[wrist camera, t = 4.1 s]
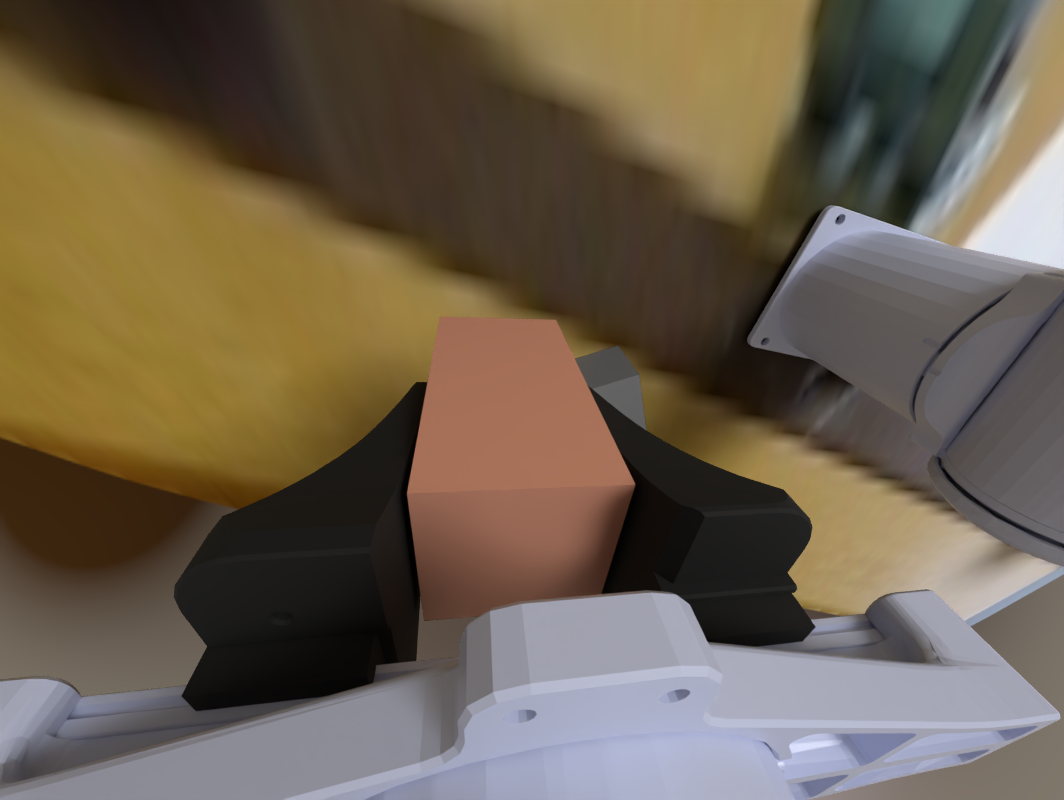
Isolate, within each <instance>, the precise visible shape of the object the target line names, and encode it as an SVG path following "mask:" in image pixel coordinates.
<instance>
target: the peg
mask: <svg viewBox="0 0 1064 800" xmlns="http://www.w3.org/2000/svg"><path fill="white" fill-rule="evenodd" d="M634 488H635V483H634V481H633V478H632V476H631V474H630V472H629V470H628V468H627V466H626V464H625V462H624V460H623V458H622V456H621V454H620V452H619V450H618V447H617V445H616V443H615V441H614V439H613V437H612V435H611V433H610V431H609V429H608V427H607V425H606V423H605V421H604V419H603V416H602V414H601V412H600V410H599V408H598V406H597V404H596V402H595V400H594V398H593V396H592V394H591V392H590V390H589V388H588V385H587V383H586V381H585V379H584V377H583V375H582V373H581V371H580V369H579V367H578V365H577V363H576V361H575V359H574V357H573V354H572V352H571V350H570V348H569V346H568V344H567V342H566V340H565V338H564V336H563V334H562V332H561V330H560V328H559V326H558V323H557V321H556V320H539V319H504V318H469V317H440V318H439V324H438V329H437V334H436V340H435V345H434V351H433V356H432V361H431V367H430V372H429V378H428V383H427V388H426V394H425V399H424V405H423V410H422V415H421V421H420V426H419V431H418V437H417V442H416V448H415V453H414V458H413V464H412V469H411V475H410V480H409V485H408V491H407V497H408V505H409V512H410V520H411V527H412V535H413V542H414V550H415V557H416V565H417V572H418V580H419V587H420V594H421V602H422V609H423V617H424V621H430V620H441V619H453V618H464V617H476V616H480V615H482V614H483V613H485V612H487V611H488V610H490V609H491V608H494V607H498V606H502V605H506V604H511V603H515V602H519V601H529V600H541V599H552V598H564V597H575V596H587V595H599V594H601V593H602V590H603V587H604V584H605V580H606V577H607V574H608V571H609V568H610V564H611V561H612V558H613V555H614V552H615V548H616V545H617V542H618V539H619V536H620V532H621V529H622V526H623V523H624V520H625V516H626V513H627V510H628V507H629V504H630V500H631V497H632V494H633V491H634Z"/></svg>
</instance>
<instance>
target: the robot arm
mask: <svg viewBox="0 0 1064 800" xmlns="http://www.w3.org/2000/svg"><path fill="white" fill-rule="evenodd" d="M838 216H839V219H838V221H837V222H835V221H836V218H837V217H838ZM764 338H765V340H764V341H763V342H761V341H762V340H763V339H764ZM747 342H748V344H749V345H751V346H753V347H756V348H761V349H765V350H770V351H775V352H779V353H784V354H789V355H793V356H798V357H803V358H807V359H812V360H814V361H815V362H817V363H819V364H820V365H822V366H824V367H825V368H827V369H828V370H830V371H832V372H833V373H835V374H836V375H838V376H840V377H841V378H843V379H844V380H846V381H848V382H849V383H851V384H852V385H854V386H856V387H857V388H859V389H860V390H862V391H864V392H865V393H867V394H868V395H870V396H872V397H873V398H875V399H876V400H878V401H880V402H881V403H883V404H884V405H886V406H888V407H889V408H891V409H892V410H894V411H896V412H897V413H899V414H900V415H902V416H904V417H905V418H907V419H908V420H910V421H912V422H913V423H915V424H916V426H915V429H914V431H913V433H912V435H911V436H910V439H911V440H912V441H914V442H915V443H917V444H918V445H920V446H921V447H923V448H924V449H926V450H927V451H929V452H930V453H932V454H933V455H932V457H931V458H930V460H929V462H928V467H927V471H928V474H929V477H930V479H931V481H932V482H933V484H934V485H935V487H936V488H937V490H938V491H939V492H940V493H941V494H942V495H943V496H944V498H945V499H946V500H947V501H948V502H949V504H950V505H951V506H952V507H953V508H954V509H956V510H957V511H958V512H959V513H960V514H961V515H963V516H964V517H965V518H966V519H968V520H969V521H970V522H972V523H973V524H975V525H976V526H977V527H979V528H980V529H982V530H984V531H985V532H987V533H988V534H990V535H992V536H994V537H995V538H997V539H999V540H1001V541H1003V542H1004V543H1006V544H1008V545H1010V546H1012V547H1014V548H1017V549H1019V550H1021V551H1023V552H1025V553H1028V554H1030V555H1032V556H1035V557H1037V558H1040V559H1043V560H1045V561H1048V562H1051V563H1054V564H1057V565H1061V566H1064V269H1061V268H1056V267H1051V266H1046V265H1042V264H1037V263H1032V262H1027V261H1022V260H1018V259H1013V258H1008V257H1003V256H998V255H994V254H989V253H984V252H979V251H974V250H970V249H965V248H960V247H955V246H951V245H948V244H945V243H942V242H939V241H937V240H934V239H931V238H928V237H925V236H922V235H919V234H917V233H914V232H911V231H908V230H905V229H902V228H899V227H896V226H894V225H891V224H888V223H885V222H882V221H879V220H876V219H873V218H871V217H868V216H865V215H862V214H859V213H856V212H853V211H850V210H848V209H845V208H842V207H839V206H832V205H831V206H828V207H826V208H825V209H824V210H823V211H822V212H821V213H820V215H819V217H818V218H817V220H816V222H815V224H814V225H813V227H812V229H811V230H810V232H809V234H808V235H807V237H806V239H805V241H804V242H803V244H802V246H801V247H800V249H799V251H798V252H797V254H796V256H795V258H794V259H793V261H792V263H791V264H790V266H789V268H788V270H787V271H786V273H785V275H784V276H783V278H782V280H781V281H780V283H779V285H778V287H777V288H776V290H775V292H774V293H773V295H772V297H771V298H770V300H769V302H768V304H767V305H766V307H765V309H764V310H763V312H762V314H761V315H760V317H759V319H758V321H757V322H756V324H755V326H754V327H753V329H752V331H751V332H750V334H749V336H748V338H747ZM427 383H428V382H416V383H415V384H414V385H413V386H412V388H411V389H410V390H409V391H408V393H407V394H406V395H405V396H404V397H403V399H402V400H401V401H400V402H399V403H398V404H397V405H396V407H395V408H394V409H393V410H392V411H391V412H390V413H389V414H388V415H387V416H386V417H385V418H384V419H383V420H382V421H381V422H380V423H379V424H378V425H377V426H376V427H375V428H374V429H373V430H372V431H371V432H370V433H369V434H368V435H366V436H365V437H364V438H363V439H362V440H361V441H359V442H358V443H357V444H356V445H354V446H353V447H352V448H350V449H349V450H348V451H346V452H345V453H343V454H342V455H341V456H339V457H338V458H336V459H334V460H333V461H331V462H330V463H328V464H327V465H325V466H324V467H322V468H320V469H319V470H317V471H316V472H314V473H312V474H311V475H309V476H307V477H305V478H303V479H302V480H300V481H298V482H296V483H294V484H292V485H290V486H289V487H287V488H285V489H283V490H281V491H279V492H277V493H275V494H273V495H271V496H268V497H266V498H264V499H262V500H259V501H257V502H255V503H253V504H250V505H248V506H246V507H243V508H241V509H239V510H237V511H235V512H232V513H229V514H227V515H224V516H222V518H221V519H220V520H219V522H218V523H217V524H216V525H215V527H214V528H213V529H212V531H211V532H210V533H209V535H208V536H207V538H206V539H205V540H204V542H203V544H202V545H201V547H200V548H199V550H198V551H197V553H196V554H195V556H194V557H193V559H192V561H191V562H190V563H189V565H188V566H187V568H186V569H185V571H184V573H183V574H182V575H181V577H180V578H179V580H178V582H177V583H176V584H175V590H174V598H175V601H176V603H177V605H178V607H179V609H180V610H181V612H182V614H183V615H184V616H185V618H186V619H187V620H188V622H189V623H190V624H191V626H192V627H193V628H194V629H195V631H196V632H197V633H198V635H199V636H200V637H201V638H202V640H203V641H204V643H205V644H206V645H207V648H206V650H205V652H204V654H203V656H202V658H201V659H200V661H199V663H198V665H197V667H196V669H195V671H194V673H193V675H192V677H191V678H190V680H189V682H188V684H187V685H185V686H175V687H166V688H156V689H147V690H138V691H128V692H118V693H109V694H100V695H90V696H81V695H80V693H79V692H78V690H77V689H76V688H75V687H74V686H73V685H71V684H70V683H69V682H67V681H65V680H62V679H60V678H55V677H50V676H31V677H20V678H10V679H0V800H810V799H814V798H818V797H822V796H826V795H829V794H834V793H838V792H842V791H846V790H850V789H854V788H858V787H862V786H866V785H870V784H874V783H878V782H882V781H886V780H890V779H895V778H899V777H903V776H908V775H913V774H917V773H921V772H926V771H931V770H936V769H941V768H946V767H951V766H956V765H961V764H966V763H970V762H972V761H974V760H976V759H978V758H980V757H983V756H985V755H987V754H989V753H991V752H993V751H995V750H997V749H999V748H1001V747H1003V746H1005V745H1008V744H1010V743H1012V742H1014V741H1016V740H1018V739H1020V738H1022V737H1024V736H1026V735H1029V734H1031V733H1033V732H1035V731H1037V730H1039V729H1041V728H1043V727H1045V726H1047V725H1049V724H1052V723H1054V722H1056V721H1058V720H1060V713H1059V712H1058V711H1057V710H1056V709H1055V708H1054V707H1053V706H1052V705H1051V704H1050V703H1049V702H1048V701H1047V700H1046V699H1045V698H1043V697H1042V696H1041V695H1040V694H1039V693H1038V692H1037V691H1036V690H1035V689H1034V688H1033V687H1032V686H1031V685H1030V684H1029V683H1028V682H1027V681H1026V680H1025V679H1024V678H1023V677H1022V676H1020V674H1019V673H1018V672H1017V671H1015V670H1014V669H1013V668H1012V667H1011V666H1010V665H1009V664H1008V663H1007V662H1006V661H1005V660H1004V659H1003V658H1002V657H1001V656H1000V655H999V654H998V653H997V652H996V651H995V650H994V649H993V648H992V647H991V646H990V645H989V644H988V643H986V642H985V641H984V640H983V639H982V638H981V637H980V636H979V635H978V634H977V633H976V632H975V631H974V630H973V629H972V628H971V627H970V626H969V625H968V624H967V623H966V622H965V621H964V620H963V619H962V618H961V617H960V616H958V615H957V614H956V613H955V612H954V611H953V610H952V609H951V608H950V607H949V606H948V605H947V604H946V603H945V602H944V601H943V600H942V599H941V598H940V597H939V596H938V595H937V594H936V593H935V592H934V591H932V590H927V589H926V590H916V591H906V592H895V593H890V594H886V595H884V596H882V597H880V598H878V599H877V600H875V601H874V602H873V603H872V604H871V605H870V606H869V607H868V609H867V610H866V613H865V614H858V615H848V616H839V617H830V618H820V619H810V618H809V617H808V615H807V614H806V613H805V611H804V610H803V608H802V607H801V605H800V604H799V603H798V601H797V600H796V598H795V597H794V596H793V594H792V593H794V592H795V591H796V590H797V586H796V584H795V583H794V581H793V580H792V578H791V577H790V576H789V574H788V573H787V572H788V571H789V570H790V568H791V567H792V566H793V564H794V563H795V561H796V560H797V559H798V557H799V556H800V555H801V553H802V552H803V550H804V549H805V547H806V546H807V544H808V542H809V540H810V537H811V532H812V524H811V521H810V518H809V517H808V516H807V515H806V514H805V513H804V512H803V511H802V510H801V508H800V507H799V506H798V505H797V504H796V503H795V502H794V501H793V500H792V498H791V497H790V496H789V495H788V494H787V493H786V492H785V491H784V490H783V489H780V488H777V487H773V486H770V485H767V484H764V483H761V482H757V481H754V480H751V479H748V478H745V477H742V476H739V475H736V474H734V473H731V472H729V471H726V470H723V469H721V468H718V467H716V466H713V465H711V464H709V463H706V462H704V461H702V460H700V459H698V458H695V457H693V456H691V455H689V454H687V453H685V452H683V451H681V450H679V449H677V448H675V447H673V446H671V445H670V444H668V443H666V442H665V441H663V440H661V439H659V438H658V437H656V436H654V435H653V434H651V433H650V432H648V431H646V430H645V429H644V428H642V427H641V426H639V425H638V424H636V423H635V422H633V421H632V420H631V419H629V418H628V417H627V416H625V415H624V414H623V413H621V412H620V411H619V410H617V409H616V408H615V407H614V406H612V405H611V404H610V403H609V402H608V401H606V400H605V399H604V398H603V397H602V396H600V395H599V394H598V393H597V392H595V391H594V390H593V389H592V388H591V387H589V386H588V388H589V390H590V392H591V394H592V396H593V398H594V400H595V402H596V404H597V406H598V408H599V410H600V412H601V414H602V416H603V419H604V421H605V423H606V425H607V427H608V429H609V431H610V433H611V435H612V437H613V439H614V441H615V443H616V445H617V447H618V450H619V452H620V454H621V456H622V458H623V460H624V462H625V464H626V466H627V468H628V470H629V472H630V474H631V476H632V478H633V481H634V483H635V488H634V491H633V494H632V497H631V500H630V504H629V507H628V510H627V513H626V516H625V520H624V523H623V526H622V529H621V532H620V536H619V539H618V542H617V545H616V548H615V552H614V555H613V558H612V561H611V564H610V568H609V571H608V574H607V577H606V580H605V584H604V587H603V590H602V593H601V594H599V595H587V596H575V597H564V598H552V599H541V600H529V601H519V602H515V603H511V604H506V605H502V606H498V607H494V608H491V609H490V610H488V611H487V612H485V613H483V614H482V615H480V616H478V617H477V618H475V619H474V620H472V621H471V622H470V623H469V624H468V625H467V626H466V629H465V631H464V633H463V635H462V637H461V639H460V641H459V657H450V658H440V659H431V660H422V661H416V654H417V638H418V624H419V623H418V622H419V609H420V595H421V594H420V587H419V580H418V572H417V565H416V557H415V550H414V542H413V535H412V527H411V520H410V512H409V505H408V497H407V491H408V485H409V480H410V475H411V469H412V464H413V458H414V453H415V448H416V442H417V437H418V431H419V426H420V421H421V415H422V410H423V405H424V399H425V394H426V388H427Z"/></svg>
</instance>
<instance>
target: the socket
mask: <svg viewBox="0 0 1064 800" xmlns="http://www.w3.org/2000/svg"><path fill="white" fill-rule="evenodd" d="M575 361H576V363H577V365H578V367H579V369H580V371H581V373H582V375H583V377H584V379H585V381H586V383H587V385H588V386H589V387H591V388H592V389H593V390H594V391H595V392H597V393H598V394H599V395H600V396H602V397H603V398H604V399H605V400H606V401H608V402H609V403H610V404H611V405H612V406H614V407H615V408H616V409H617V410H619V411H620V412H621V413H623V414H624V415H625V416H627V417H628V418H629V419H631V420H632V421H633V422H635V423H636V424H638V425H639V426H641V427H642V428H644V429H645V430H646V424H645V416H644V408H643V400H642V392H641V385H640V377H639V374H638V372H637V371H636V370H635V368H634V367H633V366H632V364H631V363H630V361H629V360H628V359H627V357H626V356H625V355H624V353H623V352H622V351H621V349H620V348H619V347H618V346H615V347H612V348H609V349H606V350H602V351H599V352H596V353H593V354H589V355H586V356H583V357H580V358H576V359H575Z"/></svg>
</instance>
